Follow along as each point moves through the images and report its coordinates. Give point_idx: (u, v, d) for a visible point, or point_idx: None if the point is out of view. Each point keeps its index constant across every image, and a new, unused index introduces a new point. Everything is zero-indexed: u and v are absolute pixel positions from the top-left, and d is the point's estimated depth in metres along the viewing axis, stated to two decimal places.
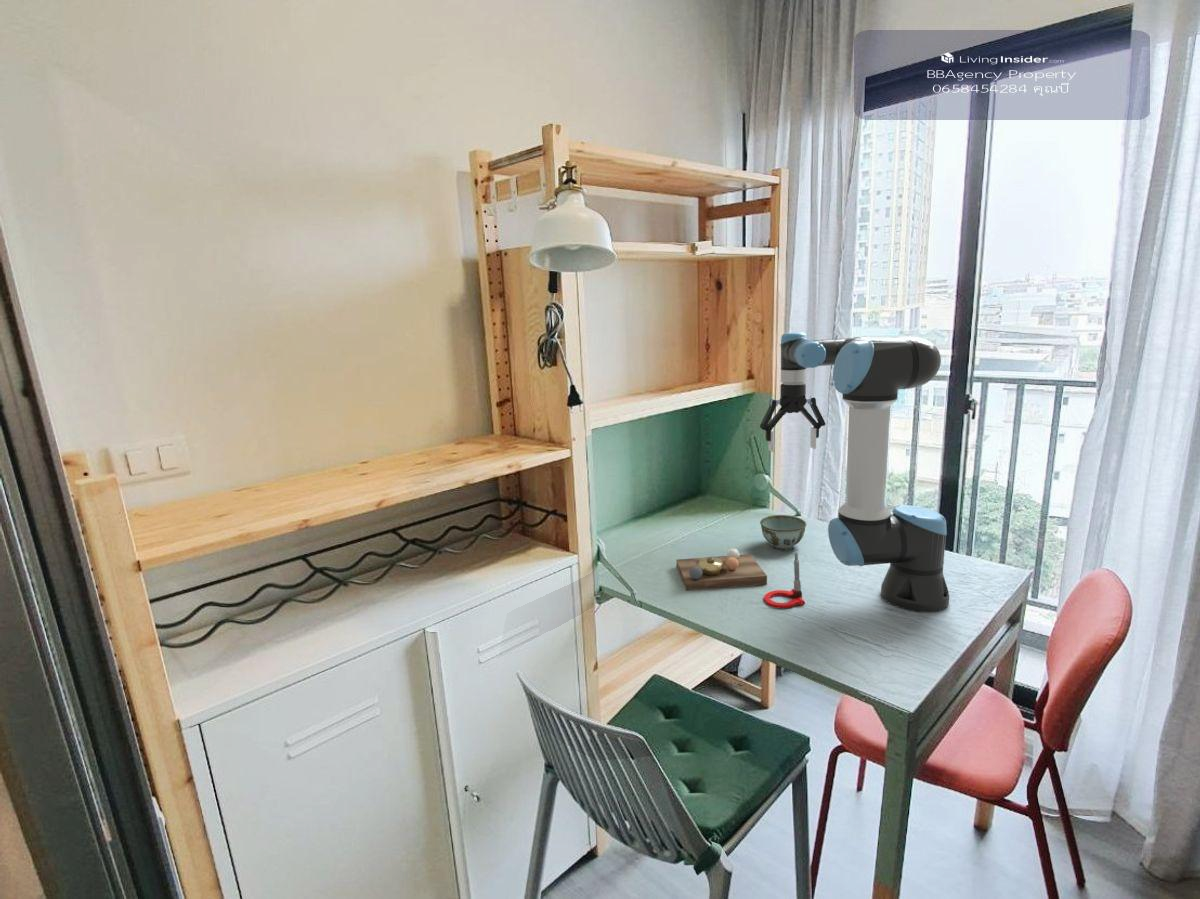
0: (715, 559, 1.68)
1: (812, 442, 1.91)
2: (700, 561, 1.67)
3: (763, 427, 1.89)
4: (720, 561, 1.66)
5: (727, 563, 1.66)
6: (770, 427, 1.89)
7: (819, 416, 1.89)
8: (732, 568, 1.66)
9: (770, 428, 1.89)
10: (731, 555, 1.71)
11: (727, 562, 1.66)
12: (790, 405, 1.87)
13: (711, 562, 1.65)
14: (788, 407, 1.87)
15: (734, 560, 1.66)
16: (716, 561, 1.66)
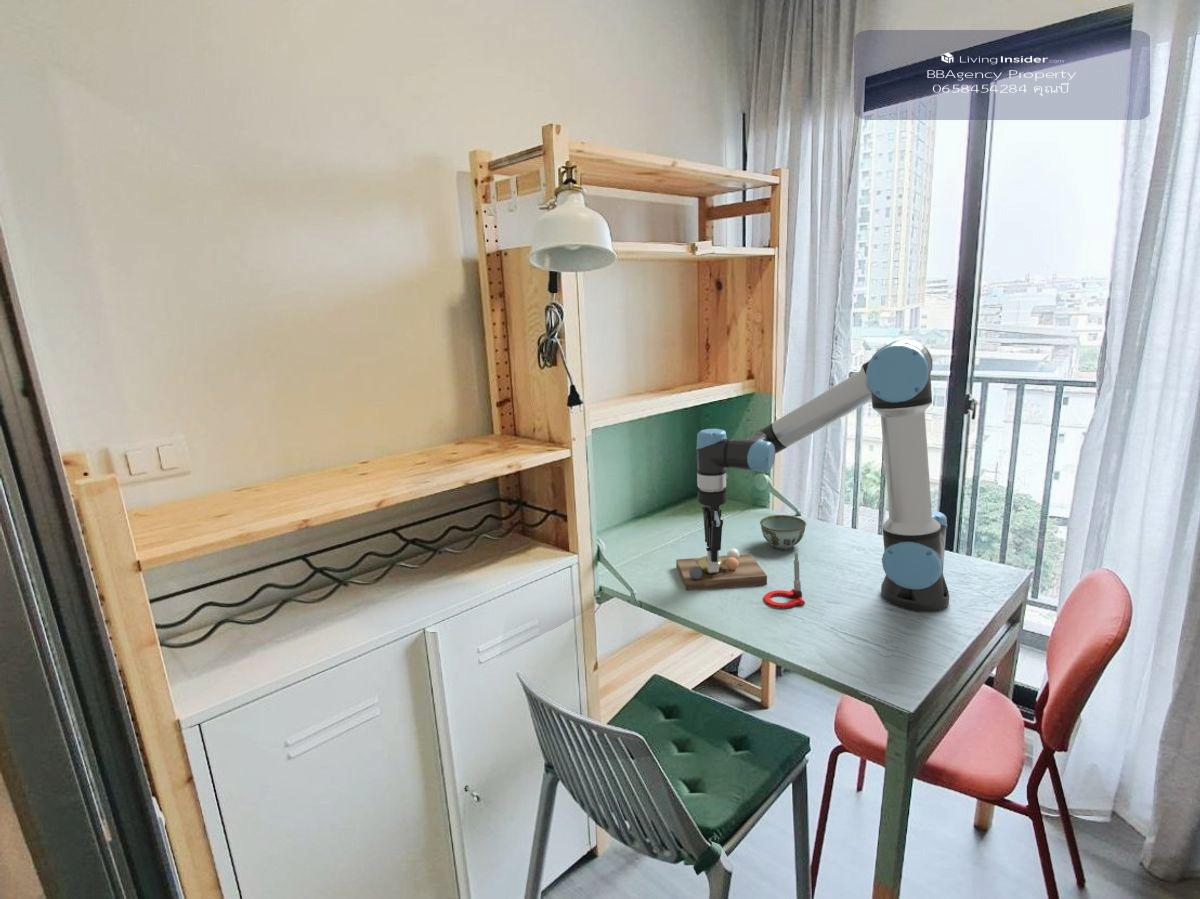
0: None
1: None
2: (699, 560, 1.68)
3: (705, 539, 1.65)
4: (719, 560, 1.67)
5: (727, 563, 1.66)
6: (707, 542, 1.63)
7: (711, 539, 1.58)
8: (732, 568, 1.66)
9: (707, 543, 1.63)
10: (731, 555, 1.71)
11: (727, 562, 1.66)
12: (703, 511, 1.61)
13: None
14: (704, 514, 1.61)
15: (734, 560, 1.66)
16: None
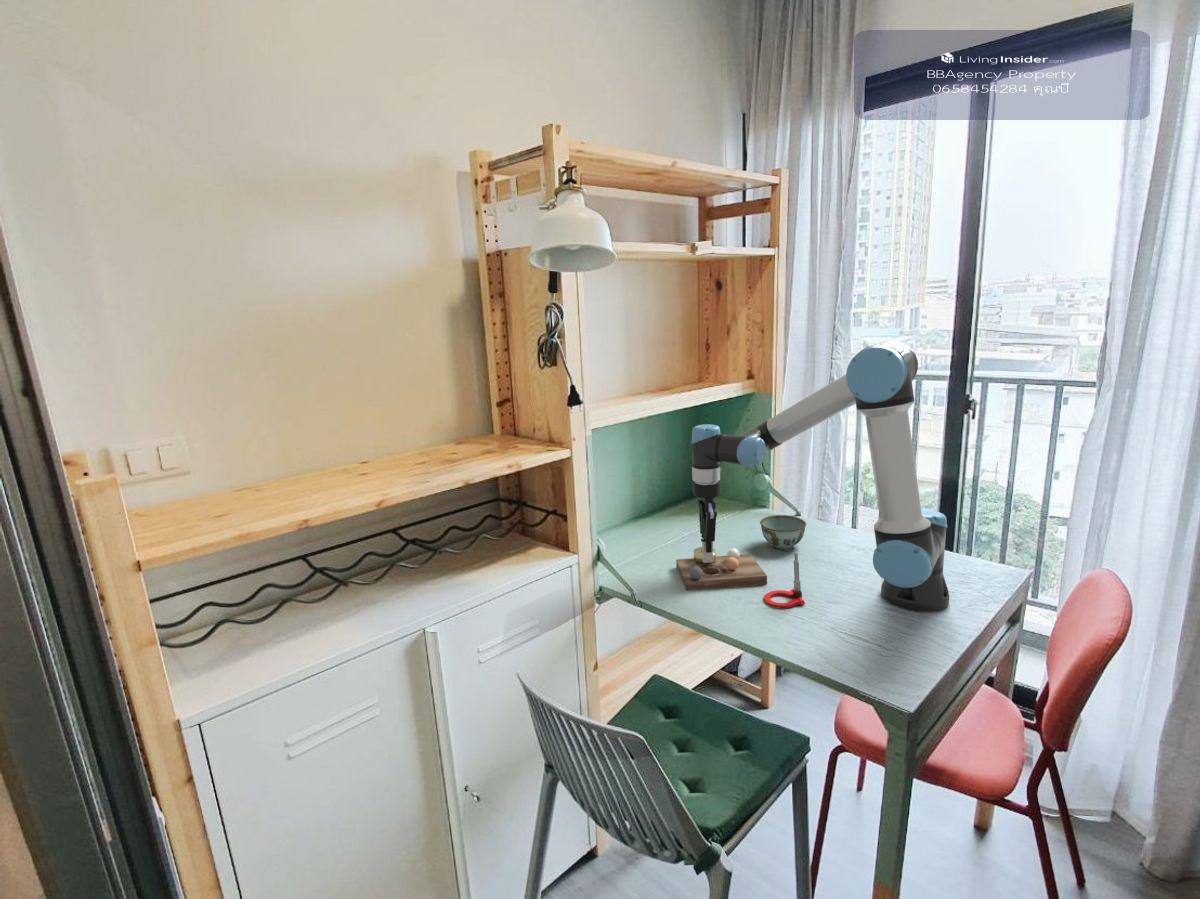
0: None
1: None
2: (694, 551, 1.74)
3: (700, 531, 1.72)
4: (714, 551, 1.73)
5: (727, 563, 1.66)
6: (701, 533, 1.70)
7: (705, 530, 1.64)
8: (732, 568, 1.66)
9: None
10: (731, 555, 1.71)
11: (727, 562, 1.66)
12: (698, 503, 1.67)
13: None
14: (699, 506, 1.68)
15: (734, 560, 1.66)
16: None
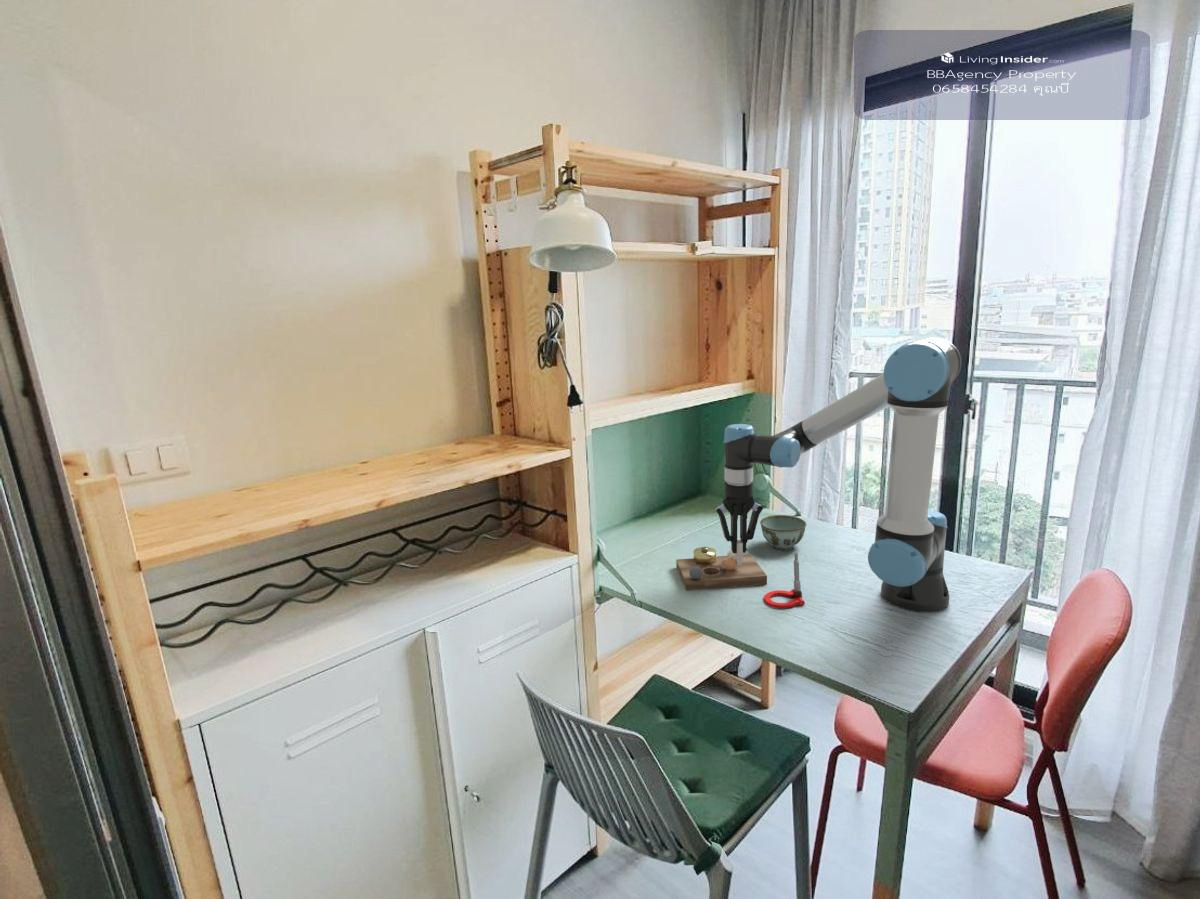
0: (709, 549, 1.75)
1: None
2: (694, 551, 1.74)
3: (727, 539, 1.64)
4: (714, 551, 1.73)
5: (724, 565, 1.66)
6: (734, 538, 1.64)
7: (753, 527, 1.64)
8: (731, 568, 1.66)
9: (735, 539, 1.64)
10: (731, 555, 1.71)
11: (724, 564, 1.66)
12: (736, 508, 1.61)
13: (705, 552, 1.73)
14: (735, 510, 1.62)
15: (730, 560, 1.66)
16: (710, 551, 1.74)
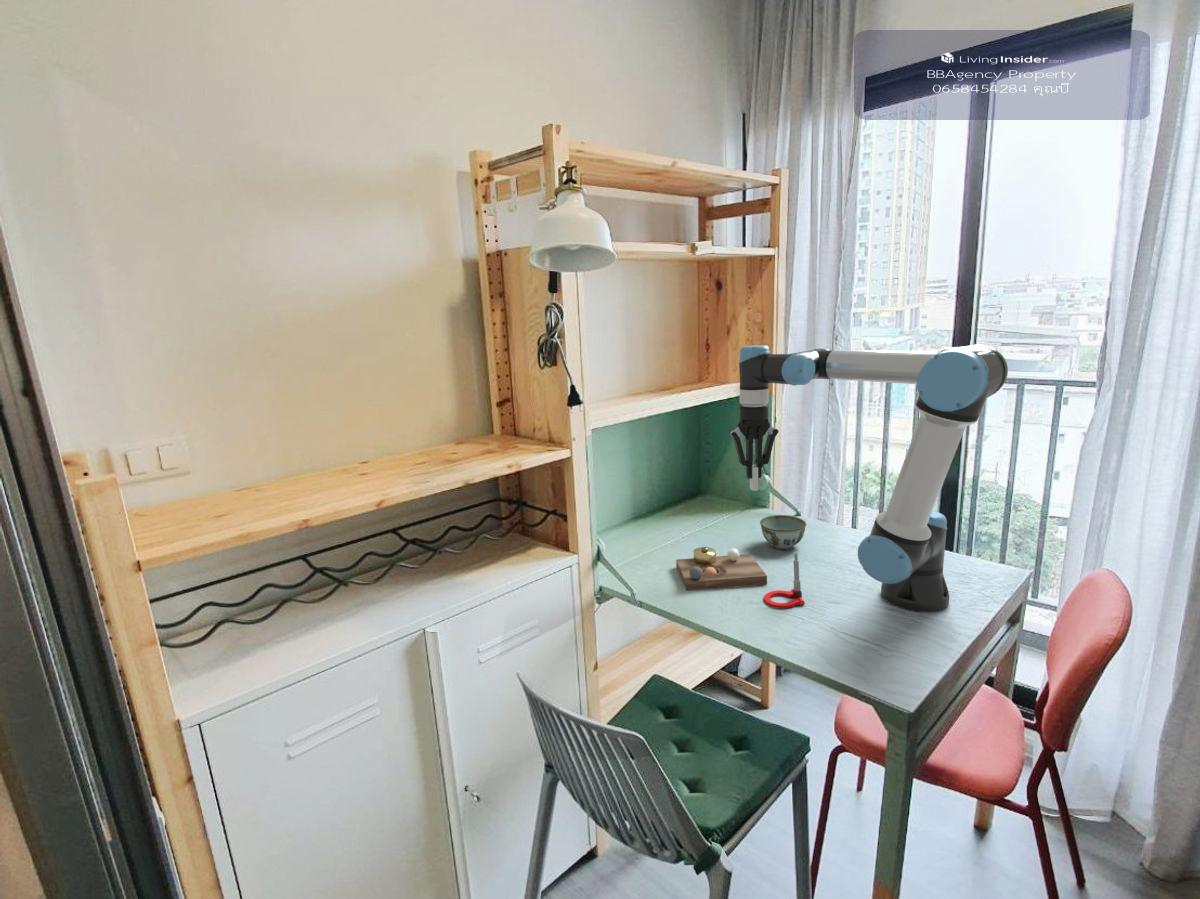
0: (709, 549, 1.75)
1: None
2: (694, 551, 1.74)
3: (743, 463, 1.62)
4: (714, 551, 1.73)
5: (715, 571, 1.67)
6: (749, 462, 1.63)
7: (768, 451, 1.62)
8: (710, 573, 1.66)
9: (750, 463, 1.63)
10: (731, 555, 1.71)
11: None
12: (751, 430, 1.60)
13: (705, 552, 1.73)
14: (751, 433, 1.60)
15: None
16: (710, 551, 1.74)
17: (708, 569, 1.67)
